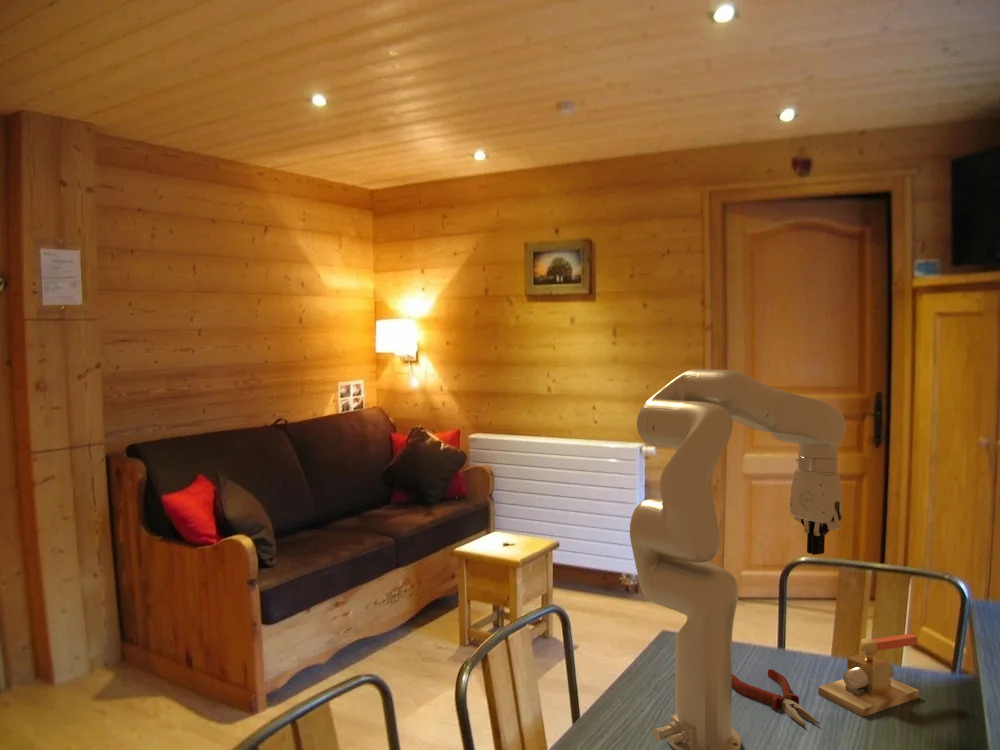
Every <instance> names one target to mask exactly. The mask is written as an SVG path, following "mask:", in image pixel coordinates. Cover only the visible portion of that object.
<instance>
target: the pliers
mask: <svg viewBox="0 0 1000 750" xmlns="http://www.w3.org/2000/svg"><path fill="white" fill-rule="evenodd" d="M767 677H768V678H769V679H770V680H772V681H773V682H775V683H776V684H778V686H779V687H780V688H781V692H782V695H781V694H777V693H773V692H770V691H768V690H765V689H762V688H759V687H757V686H754V685H751V684H750V683H749V684H748V683H746V682H745V681H742V680H740V679H739V678H738V677H737V676H736V675H735V674H733V673H732V690H734V691H736V693H738V694H741V695H742V696H745V697H748V698H749V699H753V700H756V701H758V702H761V703H763V704H765V705H769V706H771V710H773V711H776V710H777V709H779V710H781V709H782V710H783V712H784V713H785V714H786V715H787V716H788V717H790V718H791V719H793V720H794V721H796V722H797V723H799V724H800V725H801V726H803V727H806V723H805V722H804V721H803V719H804V720H807V721H808V722H811V723H813V724H814V723H815V724H817V725H820V722H819V721H818V720H817V719H816V718H815V717H814V716H813V715H812V714H811V713H810V712H809V711H807V710H806V709H805V707H803V706H802V705H800V698H799V695H797V694H795V693H794V694H793V693H792V692H791V688H790V684H789V682H788V680H787V678H786V677H785V676H784V675H782V674H781V673H779V672H778V671H777V670H775V669H773V668H771V669H768V670H767Z"/></svg>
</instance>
